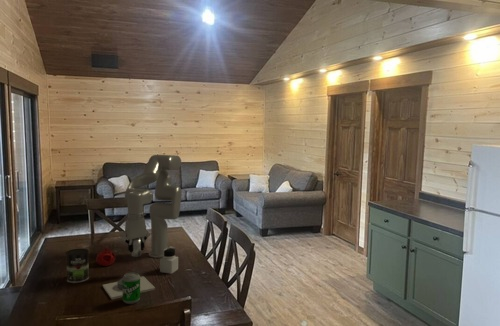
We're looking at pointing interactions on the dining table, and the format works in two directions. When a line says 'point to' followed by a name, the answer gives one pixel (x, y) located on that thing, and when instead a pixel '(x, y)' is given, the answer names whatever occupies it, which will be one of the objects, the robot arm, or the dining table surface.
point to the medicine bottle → (169, 261)
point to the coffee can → (77, 265)
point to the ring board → (119, 292)
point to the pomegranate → (105, 258)
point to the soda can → (131, 288)
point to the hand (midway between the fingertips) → (136, 250)
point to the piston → (136, 247)
